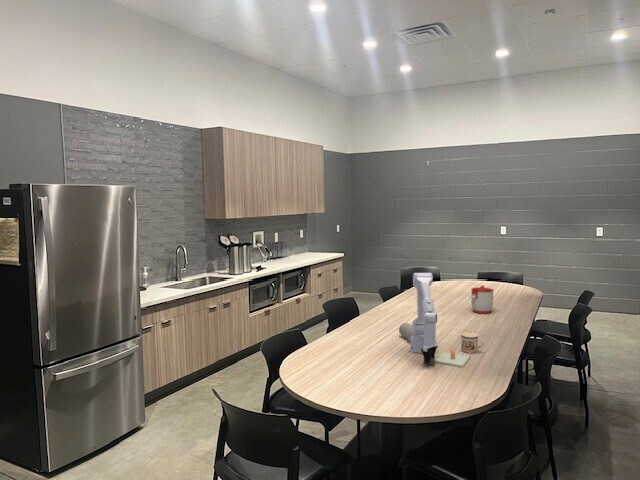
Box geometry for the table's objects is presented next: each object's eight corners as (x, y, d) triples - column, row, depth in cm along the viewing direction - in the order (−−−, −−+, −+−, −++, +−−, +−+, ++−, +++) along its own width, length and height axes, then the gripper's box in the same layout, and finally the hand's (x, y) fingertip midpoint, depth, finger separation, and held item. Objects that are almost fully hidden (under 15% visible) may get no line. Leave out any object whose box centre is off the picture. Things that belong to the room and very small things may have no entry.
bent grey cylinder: (397, 341, 275) (432, 343, 271) (397, 323, 277) (432, 325, 272) (399, 339, 292) (432, 341, 288) (399, 322, 294) (432, 323, 289)
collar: (422, 364, 241) (422, 356, 241) (425, 361, 246) (425, 353, 245) (433, 366, 238) (433, 358, 238) (436, 363, 243) (436, 355, 242)
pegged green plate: (434, 362, 243) (435, 352, 243) (444, 353, 257) (444, 343, 257) (462, 367, 236) (462, 356, 236) (470, 358, 250) (470, 347, 249)
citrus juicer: (464, 311, 350) (464, 284, 348) (482, 308, 357) (482, 282, 355) (479, 316, 336) (480, 288, 334) (497, 313, 343) (498, 286, 341)
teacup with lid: (458, 351, 260) (459, 331, 259) (462, 347, 268) (463, 327, 267) (481, 355, 254) (482, 334, 253) (484, 350, 262) (485, 329, 261)
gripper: (433, 340, 232) (432, 367, 233) (441, 332, 245) (441, 358, 246) (419, 338, 236) (418, 364, 237) (428, 330, 248) (428, 356, 249)
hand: (429, 361), depth 242 cm, fingers closed on collar, 6 cm apart
